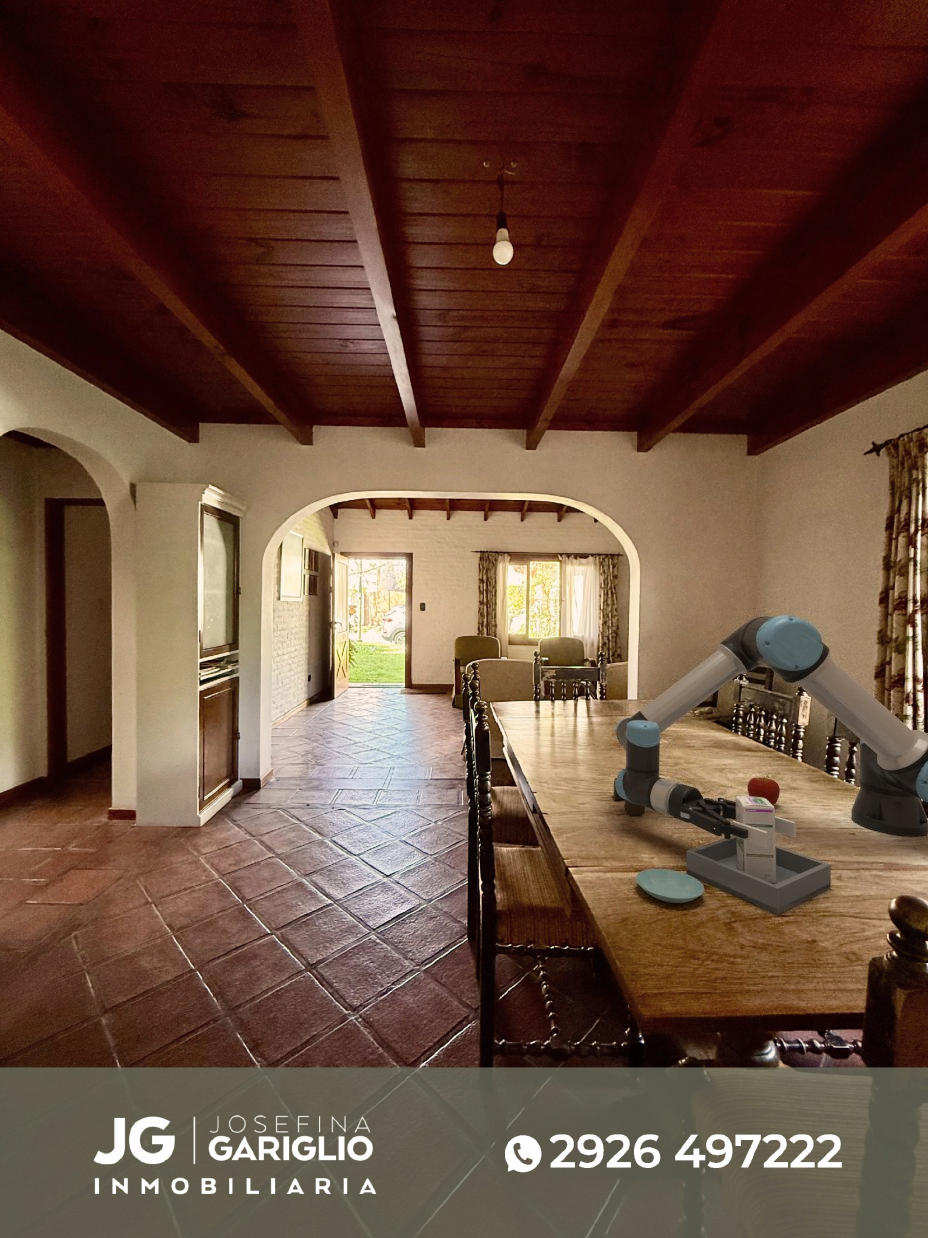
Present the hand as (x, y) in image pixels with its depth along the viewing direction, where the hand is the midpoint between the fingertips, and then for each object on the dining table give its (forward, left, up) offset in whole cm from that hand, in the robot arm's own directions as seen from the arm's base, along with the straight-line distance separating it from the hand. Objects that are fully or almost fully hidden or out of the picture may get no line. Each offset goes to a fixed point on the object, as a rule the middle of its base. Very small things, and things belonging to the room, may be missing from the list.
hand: (781, 834), depth 104 cm
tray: (+3, -3, -11) cm, 11 cm away
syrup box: (+3, -3, -10) cm, 11 cm away
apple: (-11, -51, -11) cm, 53 cm away
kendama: (+24, -44, -11) cm, 51 cm away
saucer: (+20, +6, -11) cm, 24 cm away
